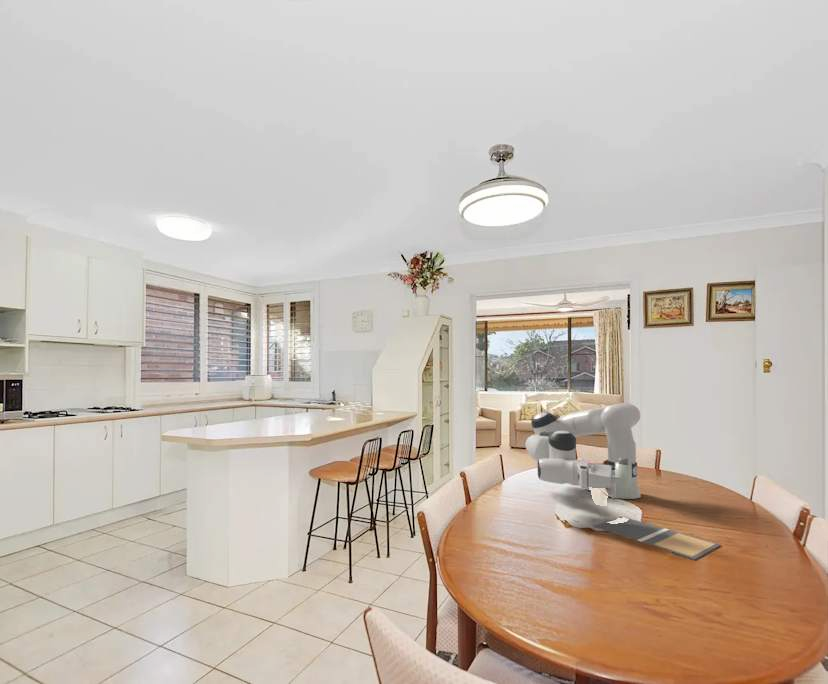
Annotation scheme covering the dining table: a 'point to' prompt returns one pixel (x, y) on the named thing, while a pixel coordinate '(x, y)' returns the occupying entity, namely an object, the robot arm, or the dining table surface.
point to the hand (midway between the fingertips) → (626, 477)
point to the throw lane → (662, 538)
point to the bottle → (626, 471)
